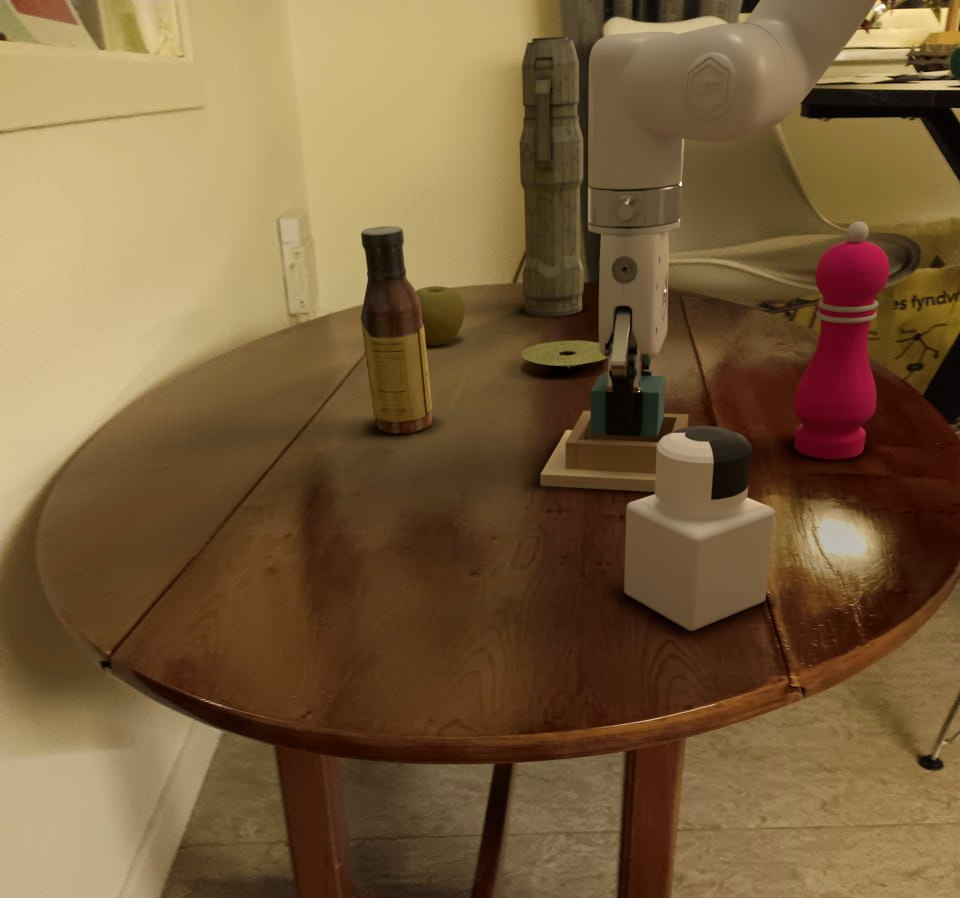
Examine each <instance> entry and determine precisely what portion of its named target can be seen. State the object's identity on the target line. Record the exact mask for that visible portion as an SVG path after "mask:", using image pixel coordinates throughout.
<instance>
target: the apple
mask: <svg viewBox="0 0 960 898" xmlns="http://www.w3.org/2000/svg"><path fill="white" fill-rule="evenodd" d="M415 291H416V293H417V295H418V297H419V300H420V304H421V313H422V323H423V324H424V332H425V342H426V347H441V346H445V345H448V344H449V343H451V342H452V341H454V340H455V339H456V337H457V336H458V334H459V332H460V331H461V328H462V327H463V322H464V317H465V306H464V305H465V304H464V301H463V298H462V296H461V294H460V293H459V292H458V291H457V290H455V289H454V288H452V287H448V286H438V285H432V286H425V287H422V288H418V289H417V290H415Z"/></svg>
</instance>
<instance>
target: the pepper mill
mask: <svg viewBox="0 0 960 898" xmlns="http://www.w3.org/2000/svg"><path fill="white" fill-rule="evenodd" d="M869 233H870V231H869V227H868V225H867V224H866V222H863V221H860V220H859V221H855V222H852V223H851V224H850V225H849V226H848V228H847V229H846V233H845V234H846V235H845V236H846V239H847V241H846V240H845V241H842V242H839V243H837V244H836V243H835V244H834V245H833V246H830V247H829V248H828V249H827V250H826V251H825V252H824V253H823V254H822V255H821V256H820V258H819V260H818V263H817V266H816V269H815V277H814V281H815V285H816V288H817V290H818V291H819V292H820V294H821V295H822V298H821V299H819V300H818V302H817V306H818V310H817V311H816V317H817V318H818V319H820V327H819V335H818V340H817V344H816V348H815V350H814V353H813V355H812V359H811V361H810V362H809V364H808V366H807V368H806V369H805V371H804V373H803V375H802V376H801V378H800V380H799V383H798V386H797V388H796V390H795V393H794V397H793V404H792V405H793V406H792V407H793V411H794V414H795V415H796V417H797V418H798V420H799V421H800V422H801V424H799V425H798V426H797V427H796V428H795V434H794V442H793V443H794V444H793V445H794V449H795V450H796V451H797V452H798V453H800V454H802V455H804V456H806V457H811V458H815V459H820V460H822V459H823V460H844V459H845V460H846V459H851V458H854V457H855V458H856V457H857V456H859V455H861V454H862V453H863V451H864V448H865V442H866V435H867V433H866V430H865V429H864V428H863V427H862V426H864V425H865V424H866V423H867V422H868V421H869V420H871V418H872V417H873V416H874V414H875V412H876V409H877V387H876V382H875V378H874V375H873V371H872V367H871V363H870V360H869V352H868V342H869V341H868V340H869V331H870V326H871V322H872V321H873V320H875V319H876V317H877V316H878V314H877V308H878V307H879V301H877V300H876V297H877V296H878V294H879V293H880V292H882V291H883V290H884V288H885V287H886V285H887V283H888V281H889V277H890V262H889V256H887V254H886V252H885V250H884V249H882V247H880V246H879V245H877V244H876V243H873V242H869V241H866V239H867V238H868V236H869Z"/></svg>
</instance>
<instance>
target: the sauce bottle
mask: <svg viewBox="0 0 960 898" xmlns="http://www.w3.org/2000/svg"><path fill="white" fill-rule="evenodd" d="M360 236H361V245H362V247H363V250H364V254H365V262H366V269H367V272H366V276H367V281H366V286H365V287H366V288H365V292H364V298H363V305H362V310H361V314H360V324H361V329H362V338H363V345H364V354H365V360H366V367H367V374H368V381H369V390H370V397H371V405H372V411H373V416H374V418H375V425H376V426H377V428H378V430H379V431H382V432H384V433H388V434H393V435H410V434H414V433H417V432H422V431H424V430H427V429H428V428H429V427H430V426H431V425H432V421H433V416H432V410H433V402H432V392H431V381H430V373H429V372H430V371H429V363H428V362H429V361H428V354H427V353H428V352H427V346H426V342H425V332H424V324H423V323H422V313H421V304H420V300H419V297H418V295H417V293H416V291H417V290H416V289H415V288H414V286H413V285H412V284H411V282H410V281H409V280H408V279H407V268H406V265H405V256H404V249H403V247H404V243H405V238H404V230H403V228H402V227H401V226H397V225H383V226H375V227H369V228H368V227H367V228H365V229H363V230H362V231H361V233H360Z"/></svg>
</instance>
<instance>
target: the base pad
mask: <svg viewBox="0 0 960 898" xmlns="http://www.w3.org/2000/svg"><path fill="white" fill-rule="evenodd" d="M590 424H591V410H583V411H582V413H581V415H580V416H579V418H578V420H577V421H576V424H575V425H574V427H573V429H566V430H565V431H564V433H563V434H562V436H561V438H560V440H559V442H558V443H557V445H556V447H555V448H554V450H553V452H552V454H550V455H551V456H550V457H549V459H548V460H547V462H546V463H545V465H544V468H543V469H542V471H541V472H540V478H539V479H540V486H541V487H558V488H574V489H575V488H578V489H594V490H612V491H613V490H614V491H628V492H629V491H630V492H631V491H633V492H650V493H655V476H656V452H657V443H658V442H659V441H660V440H661V439H662V437H663V436H665V435H666V434H668V433H670V432H673V431H676V430H678V429H682V428H686V427H689V414H688V413H664V419H663V422H662V425H661V427H660V430H659V433H658V436H657V437H649V436H617V435H602V434H591V433H590Z"/></svg>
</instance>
